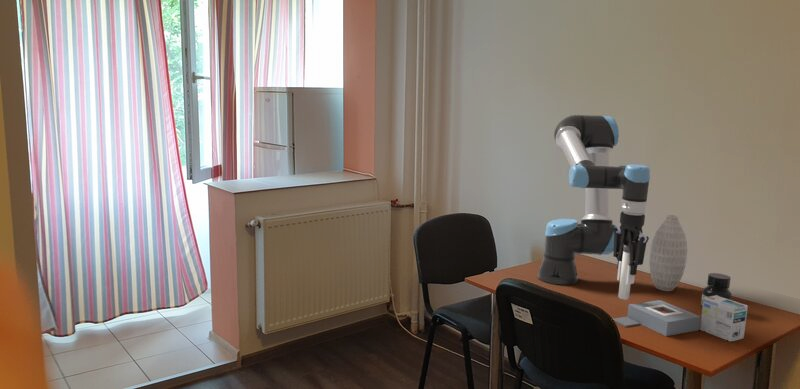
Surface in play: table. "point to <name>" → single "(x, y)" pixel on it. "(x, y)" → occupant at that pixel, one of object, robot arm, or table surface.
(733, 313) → the light bulb box
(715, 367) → the table surface
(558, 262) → the robot arm
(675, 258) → the vase
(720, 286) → the ink bottle
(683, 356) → the table surface
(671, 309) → the panel
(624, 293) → the stylus
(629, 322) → the pad
